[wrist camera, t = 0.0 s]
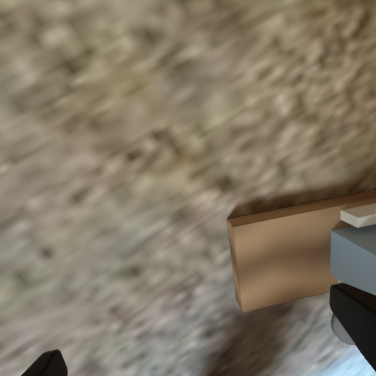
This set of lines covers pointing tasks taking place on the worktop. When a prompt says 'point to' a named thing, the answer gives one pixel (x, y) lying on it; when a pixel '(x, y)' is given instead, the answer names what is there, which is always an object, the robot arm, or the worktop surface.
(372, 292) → the block
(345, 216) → the channel walls
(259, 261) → the channel base plate
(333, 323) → the coaster
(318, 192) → the worktop surface
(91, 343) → the worktop surface
